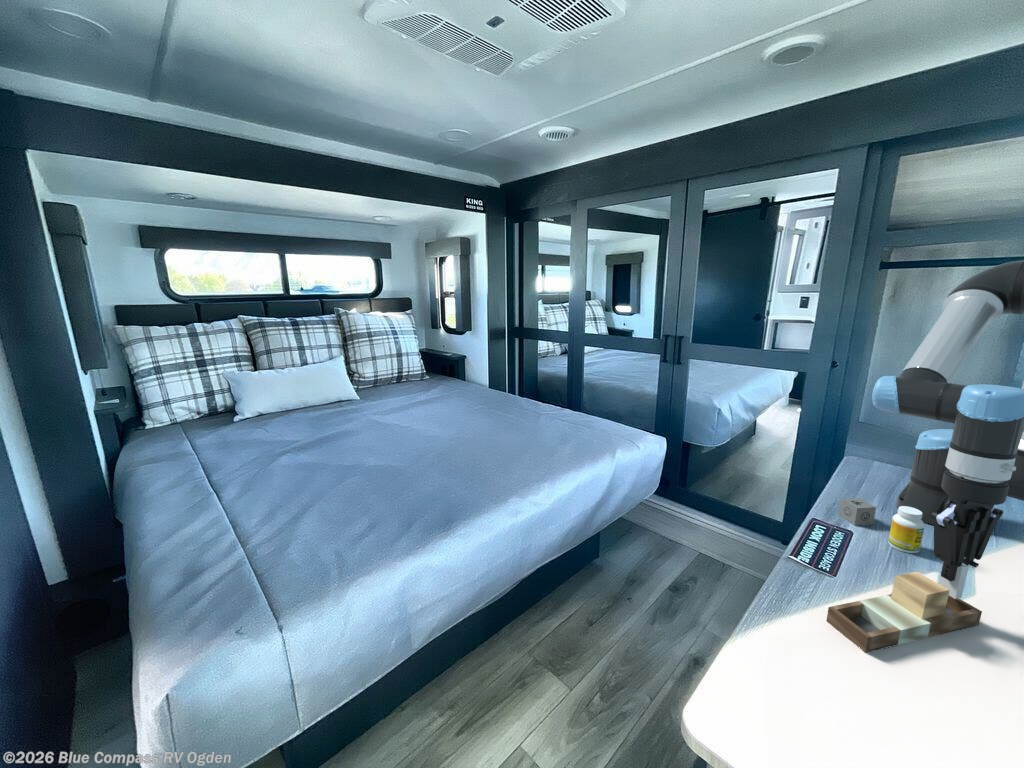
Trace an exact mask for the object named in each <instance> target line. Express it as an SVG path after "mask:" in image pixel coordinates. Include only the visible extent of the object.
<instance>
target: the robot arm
mask: <svg viewBox="0 0 1024 768" xmlns="http://www.w3.org/2000/svg"><path fill="white" fill-rule="evenodd" d="M941 310H942V313H941V314H940V316H939V317H938V319H937V320H936V322H935V323H934V325H932V327H931V328H930V330H929V331H928V333H927V335H926V336H925V337H924V339H923V340H922V342H921V343H920V345H919V346H918V348H917V349H916V351H915V352H914V353H913V355H912V356H911V357H910V359H909V360H908V362H907V363H906V365H905V367H904V368H903V369H902V370H901V372H900V373H899V375H897V376H896V375H883V376H882V377H879V378H878V379H877V381H876V382H875V384H874V386H873V388H872V394H871V399H872V400H871V401H872V404H873V406H874V407H875V408H876V409H878V410H880V411H885V412H890V413H894V414H897V415H903V416H904V415H905V416H911V417H917V418H922V419H923V418H924V419H930V420H935V421H941V422H944V423H949V424H954V426H953V429H952V428H950V429H949V428H938V429H937V428H936V429H929V430H925V431H922V432H921V433H920V434H919V436H918V439H917V442H916V445H915V446H914V449H915V451H914V457H913V462H912V467H911V472H910V473H911V474H910V476H909V477H910V478H909V481H908V483H907V484H906V485H905V486H904V488H903V489H902V491H901V492H900V493H899V495H898V496H897V498H896V504H895V506H896V508H897V509H898V508H899V507H900V506H908V507H912V508H915V509H918V510H920V511H921V512H922V513H923V514H922V518H921V520H922V521H923V523H924V524H928V523H929V524H928V525H931V524H932V526H933V557H934V558H935V559H938V560H940V561H942V565H941V570H940V575H939V579H938V582H937V583H938V584H940V585H942V586H944V587H945V588H947V589H949V590H950V591H949V596H951V597H952V598H954V599H957V598H959V599H961V598H962V597H963V592H964V588H965V584H966V580H967V576H968V571H969V567H970V566H971V567H972V568H977V567H979V565H980V563H978V562H977V561H979V560H980V561H981V559H982V557H983V555H984V553H985V550H986V548H987V546H988V543H989V541H990V539H991V537H992V535H993V532H994V530H995V527H996V525H997V523H998V522H999V520H1000V518H1002V516H1003V515H1004V510H1001V509H999V508H997V507H995V506H996V505H997V506H998V505H1002V504H1004V503H1006V501H1007V497H1009V498H1012V499H1016V500H1018V501H1019V500H1020V501H1023V502H1024V380H1022V386H1021V387H1013V386H1007V385H1000V384H983V383H981V384H980V383H979V384H970V385H966V384H958V383H957V384H956V383H952V382H951V381H952V380H953V379H954V377H955V376H956V374H957V372H958V371H959V369H960V368H961V366H962V364H963V363H964V361H965V359H966V358H967V356H968V355H969V354H970V352H971V351H972V349H973V347H974V346H975V344H976V343H977V341H978V340H979V338H980V337H981V335H982V333H983V332H984V331H985V329H986V328H987V326H988V324H989V323H992V322H994V321H996V320H997V319H999V318H1000V316H1001V315H1007V314H1008V315H1011V314H1012V315H1013V314H1014V315H1024V259H1023V260H1014V261H1010V262H1004V263H1002V264H998V265H995V266H991V267H990V268H987V269H985V270H982V271H979V272H978V273H976V274H974V275H972V276H971V277H969V278H967V279H966V280H964V281H963V282H961V283H960V284H958V285H957V286H955V288H953V290H951V292H950V293H949V294H948V295H947V297H945V299H944V301H943V302H942V305H941ZM975 560H977V561H975Z"/></svg>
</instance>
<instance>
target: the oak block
mask: <svg viewBox="0 0 1024 768" xmlns="http://www.w3.org/2000/svg"><path fill="white" fill-rule="evenodd" d="M938 583H939V582H937V581H935V580H933V579H931V578H929V577H928V576H926V575H924V574H923V573H920V572H918V571H912V572H908V573H902V574H898V575H897V574H896V575H894V581H893V586H892V591H891V594H892V595H891V600H893V601H894V602H896V603H897V604H899V605H901V606H902V607H904V608H905V609H907V610H908V611H910V612H911V613H913V614H914V615H916V616H917V617H919V618H920V619H926V618H930V617H935V616H939V615H943V614H944V613H945V608H946V604H947V600H948V595H949V591H950V590H949V589H947V588H945V587H944V586H942V585H940V584H938Z"/></svg>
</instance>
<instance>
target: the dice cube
mask: <svg viewBox="0 0 1024 768" xmlns="http://www.w3.org/2000/svg"><path fill="white" fill-rule="evenodd" d="M876 511H877V506H875V505H873V504H871V503H870V502H868V501H867V500H866V501H865V500H864V499H863V498H860V497H849V498H840V503H839V510H838V516H839V517H840V518H842V519H843V520H845V521H847V522H848V523H850V524H851V525H852V526H856V527H857V526H873V525H874V522H875V517H876Z"/></svg>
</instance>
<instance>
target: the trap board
mask: <svg viewBox="0 0 1024 768" xmlns="http://www.w3.org/2000/svg"><path fill="white" fill-rule="evenodd" d="M891 595H892V593H889V594H885V595H879V596H876V597H870V598H866V599H861V600H857V601H853V602H847V603H841V604H837V605H833V606H828V607H827V616H826V622H827V623H828V624H830V625H831V627H833V628H834V629H835V630H837V631H838V632H839V633H840V634H842V635H843V636H844V637H846V638H847V639H848V640H849V641H851V642H852V643H853V644H854V645H855V644H856V645H855V646H857V647H858V648H859V647H860V648H861V649H862V650H861V649H860V648H859V649H860V650H861V651H862V652H864V653H865V652H866V653H870V652H873V650H874V651H878V650H882V649H881V648H883V649H886V647H887V648H890V647H889V646H891V647H895V646H899V645H903V644H908V643H911V642H916V641H919V640H923V639H928V638H932V637H933V638H934V637H937V636H941V635H944V634H949V633H953V632H957V631H958V632H959V631H963V630H966V629H970V628H971V629H972V628H975V627H979V625H980V621H981V618H982V614H983V611H982V610H980V609H979V608H977V607H975V606H973V605H972V604H970V603H968V602H966V601H964V600H963V599H961V598H957V599H954V598H952V597H951V596H949V595H948V600H947V604H946V608H945V613H944V614H943V615H939V616H935V617H930V618H926V619H920V618H919V617H917V616H916V615H914V614H913V613H911V612H910V611H908V610H907V609H905V608H904V607H902V606H901V605H899V604H897V603H896V602H894V601H893V600H891Z"/></svg>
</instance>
